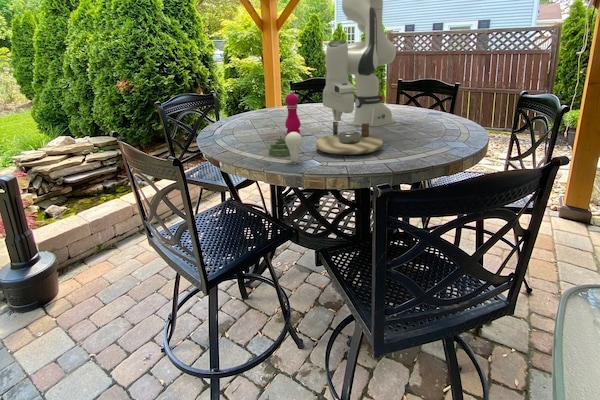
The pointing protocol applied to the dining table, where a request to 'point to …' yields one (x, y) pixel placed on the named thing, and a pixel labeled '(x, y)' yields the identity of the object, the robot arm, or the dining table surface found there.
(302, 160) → the dining table surface
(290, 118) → the pepper mill
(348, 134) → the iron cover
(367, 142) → the turntable
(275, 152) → the decorative artifact
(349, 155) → the turntable base
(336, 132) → the pointer
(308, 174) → the dining table surface
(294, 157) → the lightbulb
